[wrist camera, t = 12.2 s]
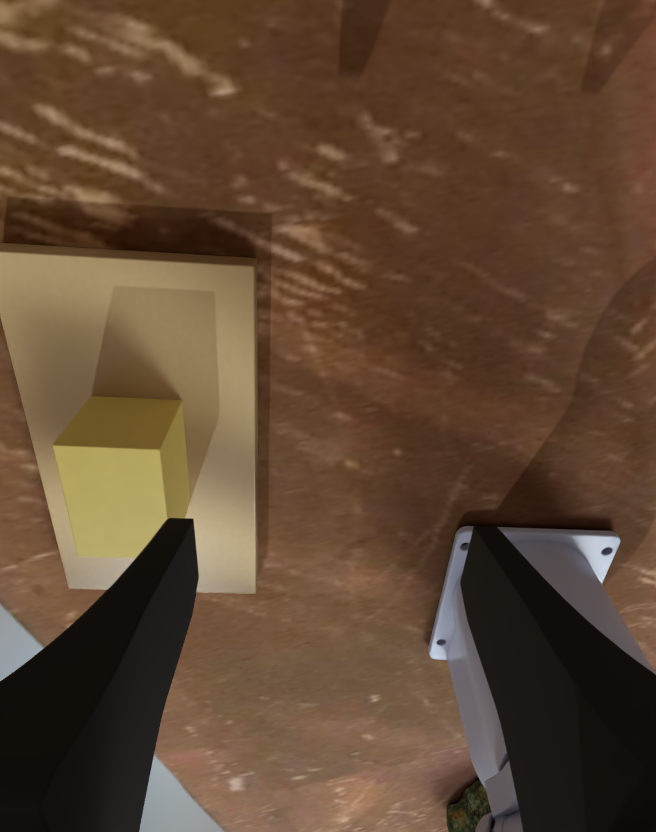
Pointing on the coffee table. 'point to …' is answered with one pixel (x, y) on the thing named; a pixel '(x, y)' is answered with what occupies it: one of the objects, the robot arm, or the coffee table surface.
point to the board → (144, 380)
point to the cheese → (123, 473)
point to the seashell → (468, 809)
